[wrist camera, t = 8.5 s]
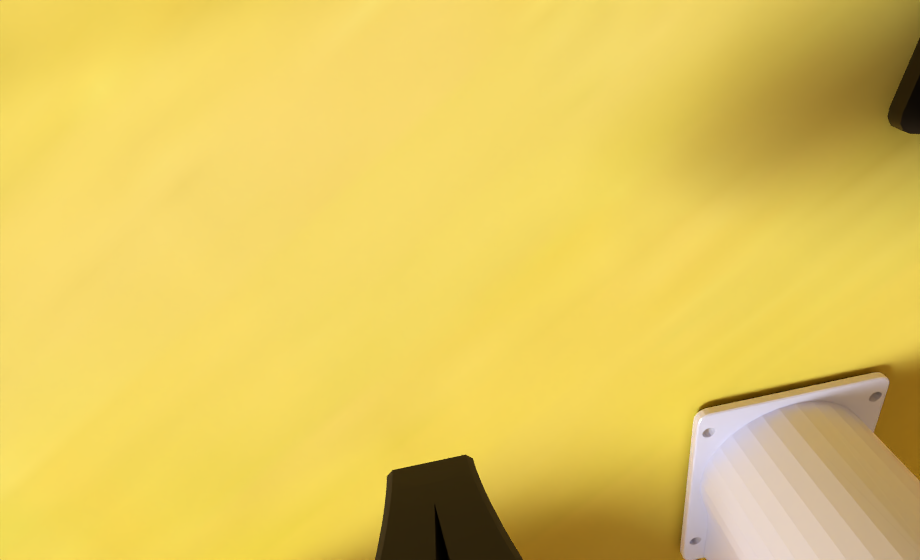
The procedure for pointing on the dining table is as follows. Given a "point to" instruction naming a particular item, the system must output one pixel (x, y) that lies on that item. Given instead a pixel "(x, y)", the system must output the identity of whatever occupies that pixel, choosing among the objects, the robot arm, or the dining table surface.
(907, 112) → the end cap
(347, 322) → the dining table surface
